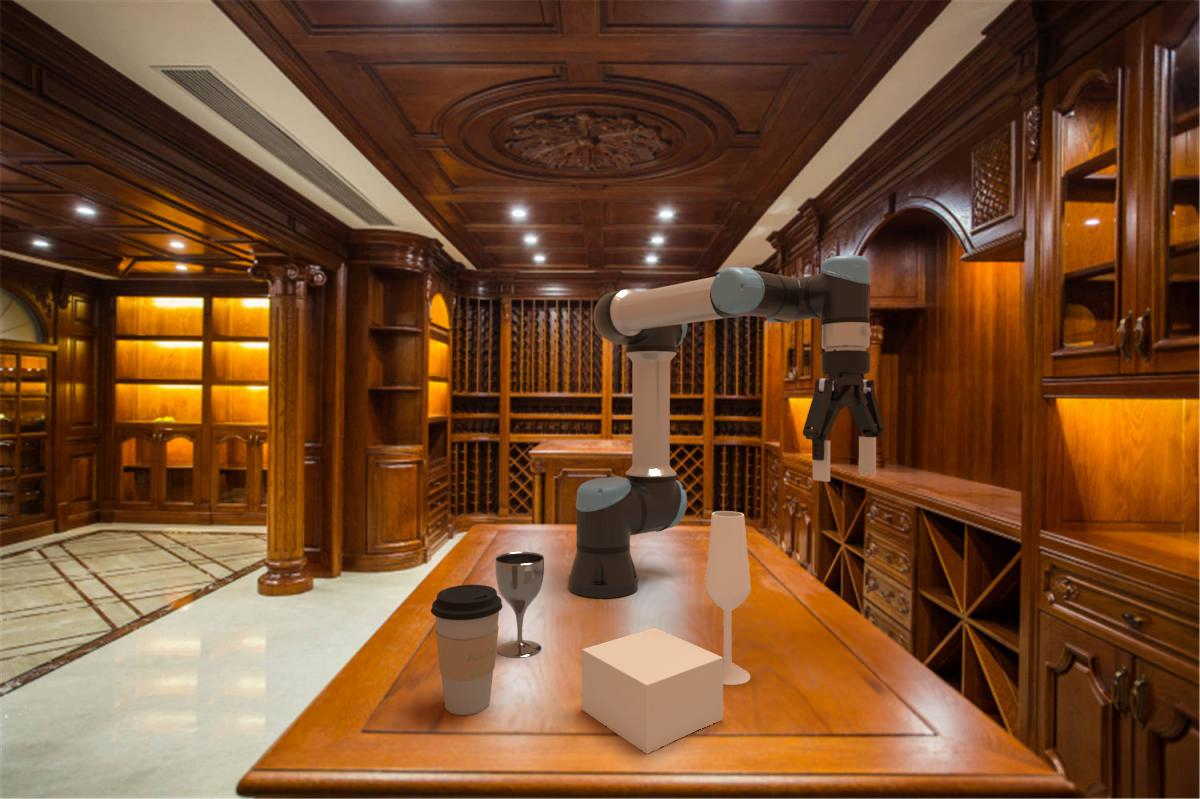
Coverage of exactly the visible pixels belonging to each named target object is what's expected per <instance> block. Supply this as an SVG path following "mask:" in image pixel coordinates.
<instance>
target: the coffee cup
mask: <svg viewBox="0 0 1200 799" xmlns="http://www.w3.org/2000/svg"><path fill="white" fill-rule="evenodd" d="M502 608H503V602H502V598H501V597H500V596H498V591H497V589H495V588H494V587H492V586H489V585H485V584H484V585H483V584H462V585H454V586H449V587H447V588H443V589H442V590H440V591H439V592H438V593H437V595H436V599H435V600H434V601H433V602H432V604H431V608H430V613H431V614H432V616H434V617H435V622H436V630H435V634H436V635H435V636H436V642H437V643H436V644H437V646H436V647H437V655H438V657H437V658H438V666H439V673H440V675H441V681H442V692H443V702H444V708H445V710H446V711H447V712H449V713H451V714H452V715H456V716H470V715H474V714H477V713H479V712H482V711H484V710H485V709H487V708H488V707H489V705H490V702H491V694H492V684H493V675H494V670H495V666H496V657H497V656H496V655H497V647H498V638H499V636H498V635H499V614H500V611H501V610H502Z"/></svg>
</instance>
